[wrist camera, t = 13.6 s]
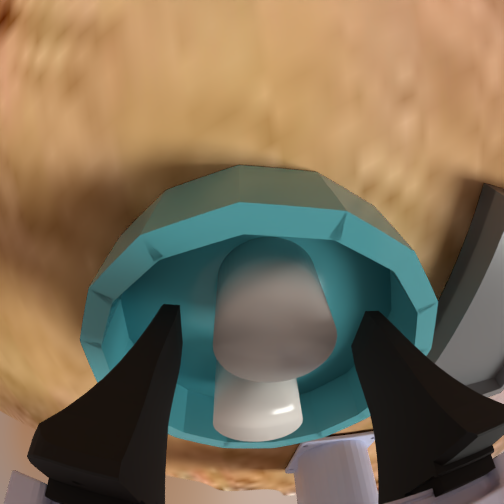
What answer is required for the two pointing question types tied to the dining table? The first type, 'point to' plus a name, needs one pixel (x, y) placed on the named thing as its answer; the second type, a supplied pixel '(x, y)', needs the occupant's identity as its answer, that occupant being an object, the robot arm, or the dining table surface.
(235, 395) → the stone
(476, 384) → the tray
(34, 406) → the dining table surface
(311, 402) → the bowl
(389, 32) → the dining table surface
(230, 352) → the stone
